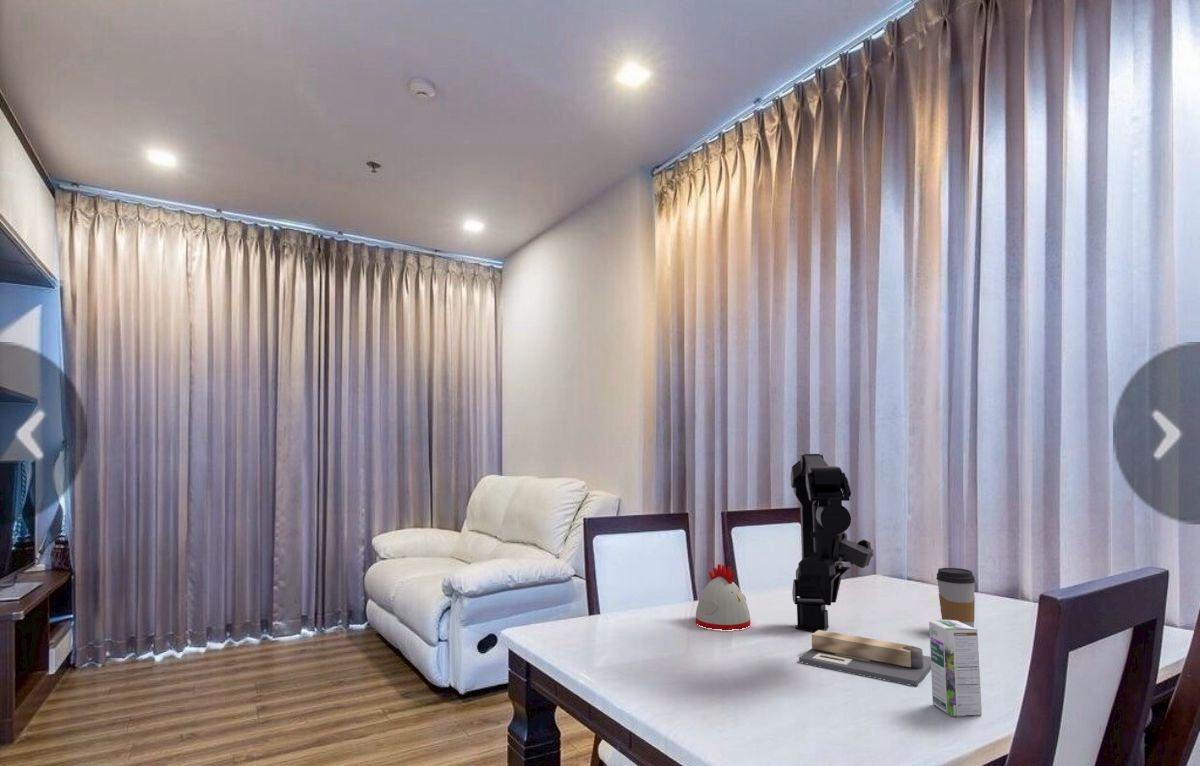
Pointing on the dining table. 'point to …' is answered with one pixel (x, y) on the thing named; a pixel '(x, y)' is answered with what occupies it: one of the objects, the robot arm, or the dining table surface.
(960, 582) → the coffee cup
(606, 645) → the dining table surface
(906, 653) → the swing arm
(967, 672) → the syrup box
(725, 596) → the kitchen timer
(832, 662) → the label panel
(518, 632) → the dining table surface
